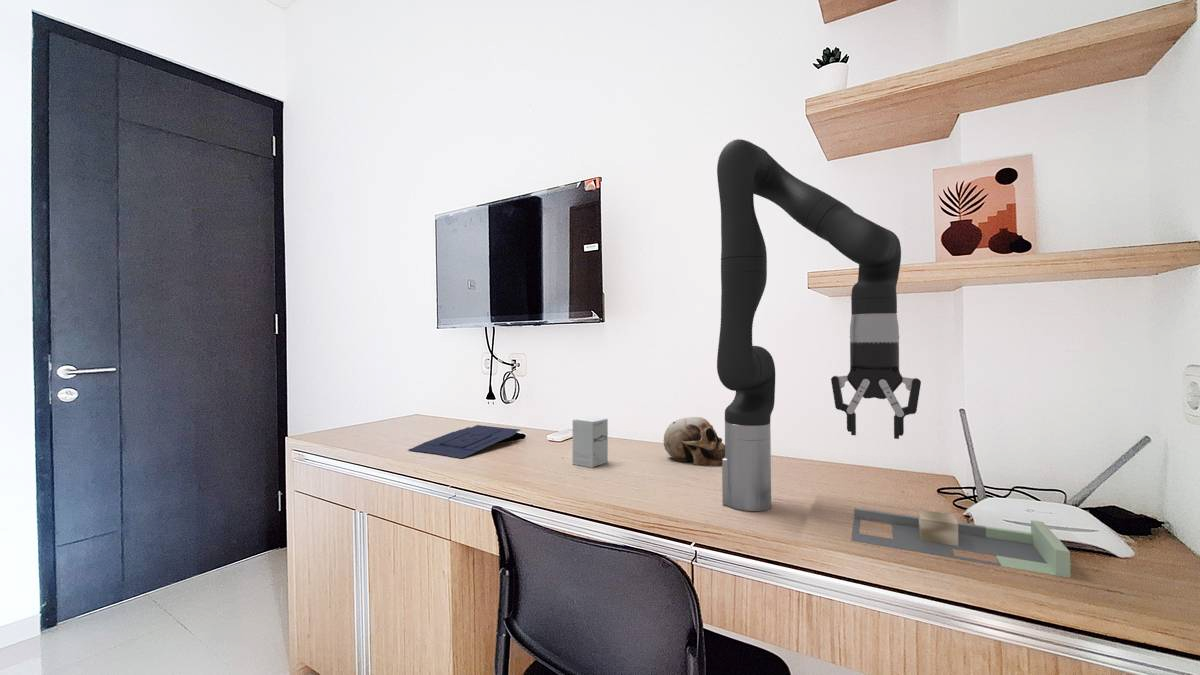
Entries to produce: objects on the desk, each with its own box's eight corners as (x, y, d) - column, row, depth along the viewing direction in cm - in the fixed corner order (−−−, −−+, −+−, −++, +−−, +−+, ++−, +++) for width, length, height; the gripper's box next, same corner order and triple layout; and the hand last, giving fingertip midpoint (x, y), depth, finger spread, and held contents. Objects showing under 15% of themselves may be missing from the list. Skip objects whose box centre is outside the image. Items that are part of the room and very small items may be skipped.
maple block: (921, 540, 82) (920, 518, 82) (918, 530, 86) (918, 509, 86) (958, 546, 79) (958, 524, 79) (954, 535, 84) (953, 514, 84)
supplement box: (592, 468, 136) (592, 421, 136) (571, 464, 140) (571, 419, 140) (608, 462, 141) (608, 418, 142) (588, 459, 146) (587, 416, 146)
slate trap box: (851, 549, 82) (851, 519, 82) (854, 524, 93) (854, 497, 93) (1070, 588, 69) (1070, 551, 69) (1043, 553, 80) (1042, 521, 80)
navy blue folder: (526, 437, 173) (525, 427, 173) (463, 467, 147) (462, 455, 147) (474, 431, 185) (473, 422, 185) (407, 458, 159) (406, 447, 159)
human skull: (739, 463, 139) (733, 415, 139) (681, 475, 135) (675, 425, 135) (713, 453, 154) (708, 410, 154) (660, 463, 150) (655, 418, 150)
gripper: (827, 340, 88) (827, 436, 88) (924, 340, 81) (925, 444, 81) (830, 340, 94) (831, 429, 94) (921, 340, 87) (921, 436, 87)
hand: (874, 436), depth 87 cm, fingers open, 6 cm apart
